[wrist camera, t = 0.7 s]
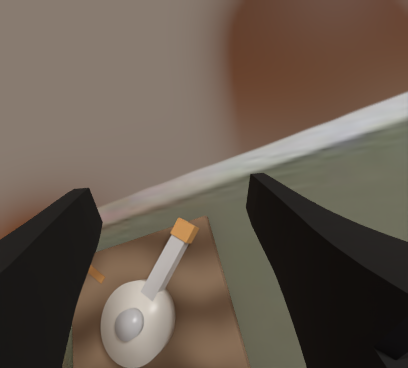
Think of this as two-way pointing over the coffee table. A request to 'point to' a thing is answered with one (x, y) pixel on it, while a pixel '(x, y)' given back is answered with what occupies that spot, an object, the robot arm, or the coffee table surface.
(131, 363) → the white handled piece
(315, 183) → the coffee table surface
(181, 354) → the post board
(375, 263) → the robot arm
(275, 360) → the coffee table surface
